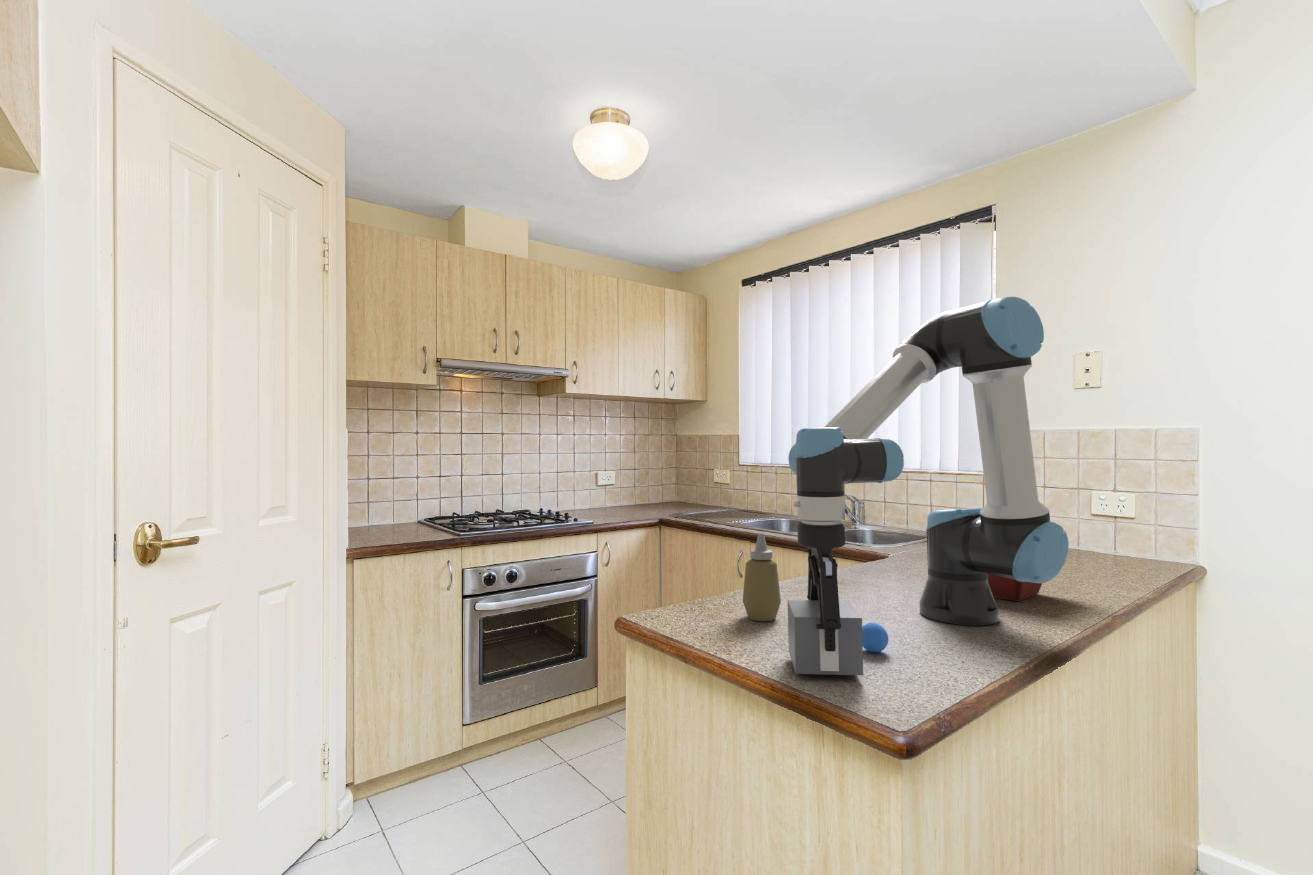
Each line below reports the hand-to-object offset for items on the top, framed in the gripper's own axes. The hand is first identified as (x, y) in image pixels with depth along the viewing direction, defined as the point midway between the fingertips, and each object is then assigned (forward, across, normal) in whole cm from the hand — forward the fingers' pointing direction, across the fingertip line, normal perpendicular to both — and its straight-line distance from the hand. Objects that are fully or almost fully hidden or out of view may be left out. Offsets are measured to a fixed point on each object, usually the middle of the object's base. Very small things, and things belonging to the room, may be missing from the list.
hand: (823, 657), depth 97 cm
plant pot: (+3, -57, +52) cm, 77 cm away
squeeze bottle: (+2, -29, -8) cm, 30 cm away
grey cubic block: (+1, 0, 0) cm, 1 cm away
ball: (0, -10, +10) cm, 14 cm away
